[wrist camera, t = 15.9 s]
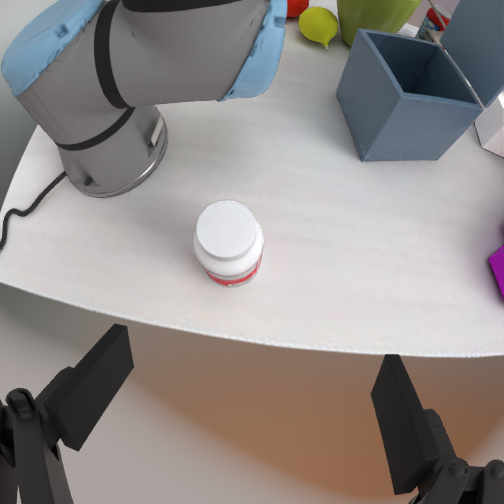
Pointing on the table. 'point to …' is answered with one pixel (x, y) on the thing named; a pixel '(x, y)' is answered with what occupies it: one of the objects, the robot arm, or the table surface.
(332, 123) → the table surface
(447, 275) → the table surface
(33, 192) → the table surface
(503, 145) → the tissue box
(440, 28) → the beverage can
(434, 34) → the wall hook
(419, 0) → the flower pot
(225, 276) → the pill bottle
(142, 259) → the table surface
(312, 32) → the yellow-green teardrop shape
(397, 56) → the blue-grey hollow box
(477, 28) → the lid
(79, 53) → the robot arm
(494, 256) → the toy
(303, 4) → the apple
